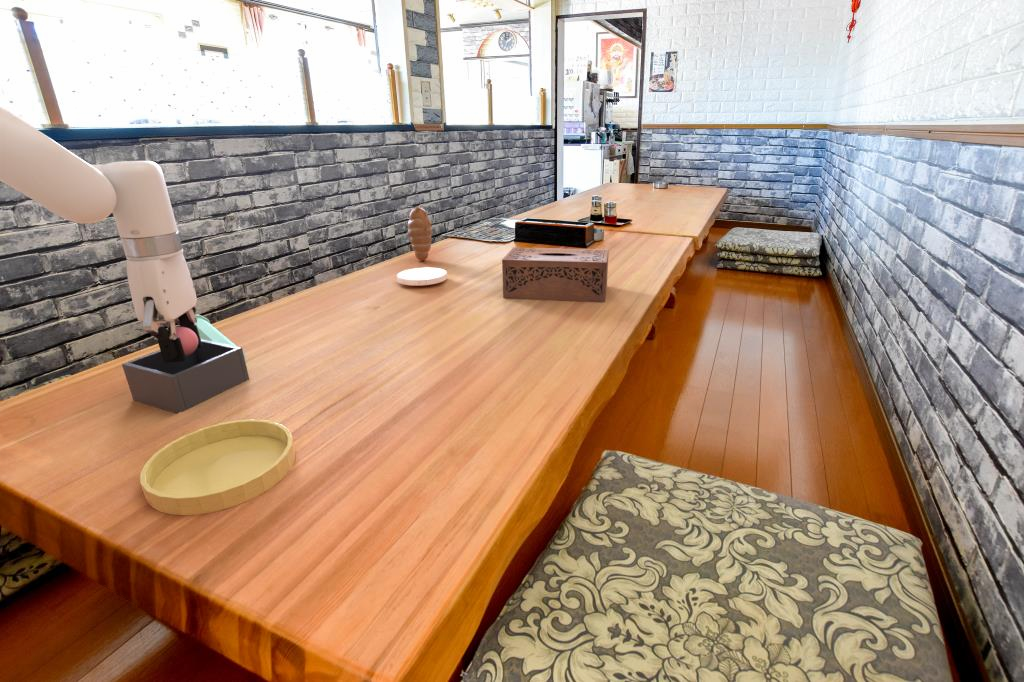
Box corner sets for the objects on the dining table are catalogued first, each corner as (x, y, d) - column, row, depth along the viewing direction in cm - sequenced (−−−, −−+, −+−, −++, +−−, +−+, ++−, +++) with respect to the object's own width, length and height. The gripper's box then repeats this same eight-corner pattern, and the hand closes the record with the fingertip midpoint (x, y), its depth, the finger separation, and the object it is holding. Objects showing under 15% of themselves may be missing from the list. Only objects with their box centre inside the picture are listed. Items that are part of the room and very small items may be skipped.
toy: (180, 363, 85) (171, 335, 83) (160, 358, 87) (151, 330, 85) (208, 352, 89) (201, 324, 87) (188, 348, 91) (181, 320, 89)
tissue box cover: (503, 297, 136) (502, 259, 132) (514, 282, 149) (513, 247, 145) (604, 302, 131) (606, 262, 127) (606, 285, 144) (608, 249, 140)
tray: (210, 536, 58) (203, 514, 57) (115, 495, 65) (108, 475, 64) (324, 453, 72) (320, 434, 71) (236, 427, 79) (232, 409, 78)
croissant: (430, 264, 171) (426, 207, 165) (407, 263, 172) (401, 207, 165) (437, 257, 180) (433, 203, 173) (414, 257, 180) (409, 203, 174)
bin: (182, 415, 83) (171, 377, 80) (133, 400, 88) (121, 364, 85) (250, 382, 93) (242, 347, 91) (202, 370, 98) (193, 337, 96)
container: (239, 341, 96) (199, 308, 112) (209, 361, 93) (173, 325, 110) (258, 364, 99) (216, 329, 116) (230, 385, 97) (191, 346, 113)
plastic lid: (406, 291, 143) (405, 282, 142) (391, 280, 154) (391, 271, 153) (454, 284, 149) (454, 275, 148) (437, 273, 160) (436, 265, 159)
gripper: (157, 236, 89) (185, 336, 96) (91, 260, 73) (130, 378, 80) (203, 234, 89) (228, 334, 96) (147, 257, 74) (182, 375, 81)
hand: (183, 353), depth 88 cm, fingers closed on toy, 4 cm apart
